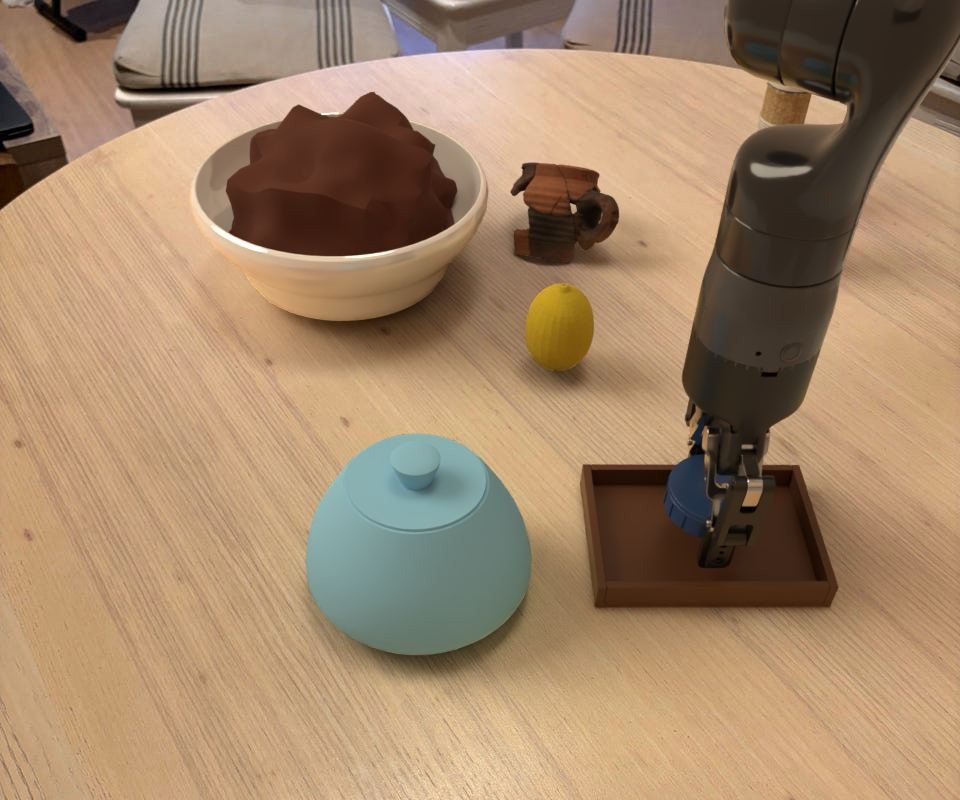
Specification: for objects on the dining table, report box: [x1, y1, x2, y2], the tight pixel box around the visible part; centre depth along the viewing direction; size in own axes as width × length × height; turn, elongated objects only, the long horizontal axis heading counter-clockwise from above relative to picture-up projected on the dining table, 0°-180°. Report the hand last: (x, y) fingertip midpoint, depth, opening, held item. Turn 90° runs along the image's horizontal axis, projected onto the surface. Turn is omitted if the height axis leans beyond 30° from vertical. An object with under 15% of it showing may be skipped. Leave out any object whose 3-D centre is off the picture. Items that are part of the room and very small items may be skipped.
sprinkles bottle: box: [755, 81, 813, 132], centre depth 98 cm, size 5×5×13 cm
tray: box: [579, 463, 840, 608], centre depth 72 cm, size 16×12×2 cm
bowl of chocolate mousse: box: [189, 91, 489, 322], centre depth 87 cm, size 25×25×15 cm
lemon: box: [524, 282, 595, 372], centre depth 82 cm, size 6×6×8 cm
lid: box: [663, 454, 732, 538], centre depth 70 cm, size 6×6×2 cm
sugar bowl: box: [305, 433, 532, 656], centre depth 66 cm, size 15×15×12 cm
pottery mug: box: [509, 161, 620, 263], centre depth 96 cm, size 12×10×8 cm
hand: (703, 527), depth 72 cm, fingers closed on lid, 6 cm apart
